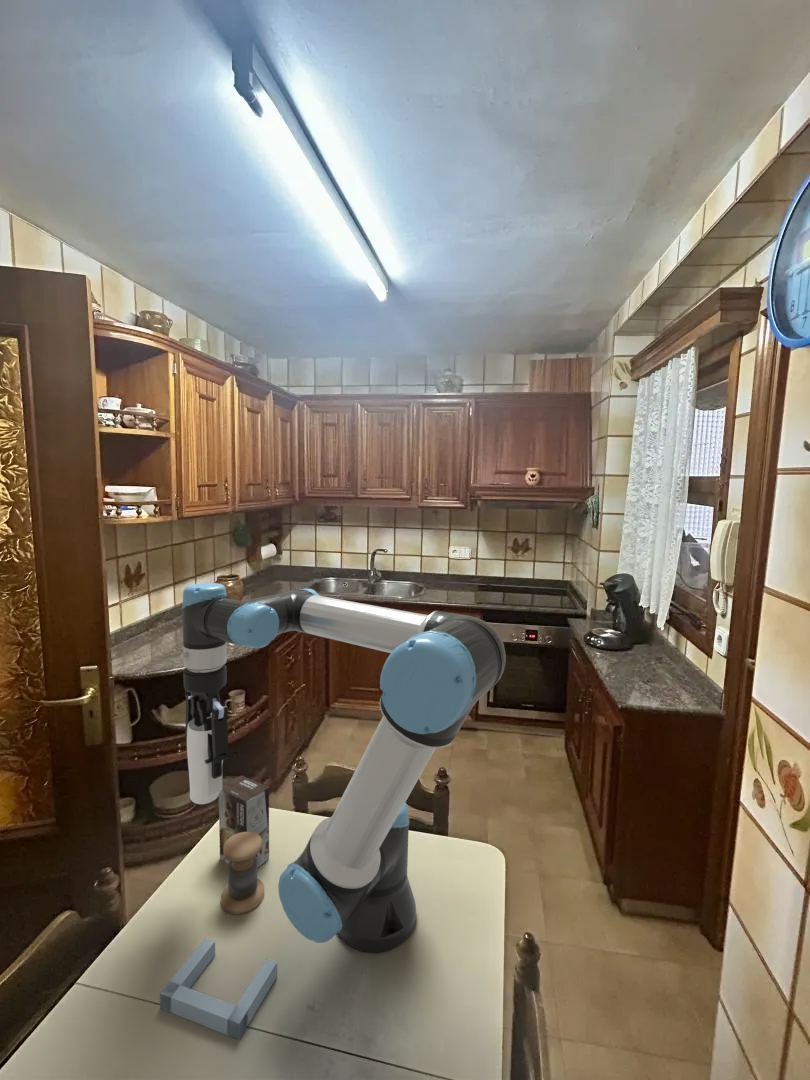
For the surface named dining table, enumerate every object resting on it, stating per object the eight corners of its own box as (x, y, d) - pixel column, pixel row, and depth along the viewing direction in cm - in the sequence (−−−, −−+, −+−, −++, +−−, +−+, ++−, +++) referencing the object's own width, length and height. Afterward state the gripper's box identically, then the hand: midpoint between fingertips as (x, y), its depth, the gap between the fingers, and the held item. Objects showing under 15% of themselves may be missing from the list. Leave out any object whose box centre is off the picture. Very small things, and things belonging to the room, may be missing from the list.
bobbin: (272, 887, 99) (272, 835, 98) (248, 919, 91) (248, 862, 90) (238, 877, 101) (237, 826, 100) (211, 907, 94) (211, 852, 93)
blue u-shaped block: (277, 976, 80) (277, 962, 80) (239, 1039, 71) (239, 1023, 71) (205, 951, 85) (205, 938, 84) (160, 1008, 75) (160, 993, 75)
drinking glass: (211, 811, 91) (213, 734, 89) (178, 804, 92) (179, 728, 90) (230, 789, 98) (232, 717, 96) (198, 783, 99) (200, 712, 97)
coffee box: (270, 858, 107) (270, 786, 106) (246, 877, 101) (246, 801, 100) (242, 842, 112) (242, 773, 111) (218, 859, 106) (217, 787, 105)
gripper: (165, 658, 97) (167, 771, 99) (207, 685, 83) (208, 816, 85) (203, 650, 102) (204, 758, 104) (248, 674, 89) (249, 798, 90)
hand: (206, 783), depth 94 cm, fingers closed on drinking glass, 6 cm apart
